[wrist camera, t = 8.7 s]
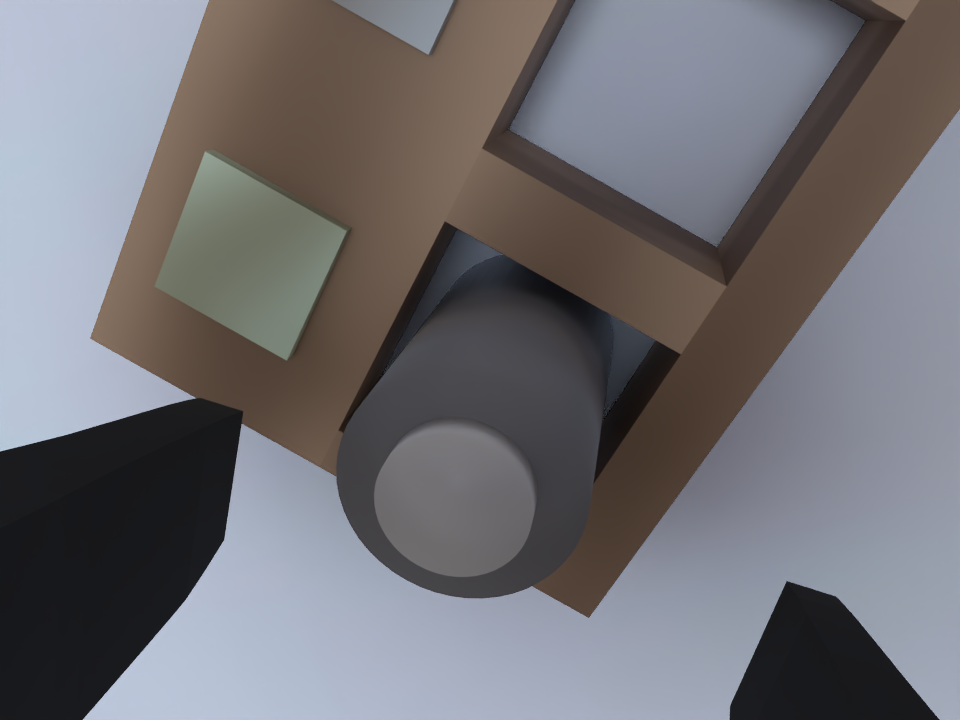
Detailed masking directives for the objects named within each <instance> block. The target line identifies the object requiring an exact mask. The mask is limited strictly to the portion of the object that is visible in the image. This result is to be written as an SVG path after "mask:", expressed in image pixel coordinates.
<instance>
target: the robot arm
mask: <svg viewBox="0 0 960 720" xmlns="http://www.w3.org/2000/svg"><path fill="white" fill-rule="evenodd" d="M242 417H243V411H241V410H238V409H235V408H231V407H228V406H225V405H222V404H219V403H216V402H212V401H209V400H206V399H203V398H197V399H191V400H186V401H182V402H178V403H174V404H171V405H167V406H164V407H160V408H156V409H153V410H150V411H146V412H143V413H140V414H136V415H133V416H130V417H126V418H123V419H119V420H116V421H113V422H109V423H106V424H102V425H99V426H96V427H92V428H89V429H85V430H82V431H78V432H75V433H72V434H68V435H64V436H61V437H57V438H53V439H49V440H45V441H41V442H37V443H33V444H29V445H25V446H21V447H17V448H13V449H9V450H5V451H1V452H0V720H83V719H84V717H85V716H86V715H87V714H88V713H89V712H90V711H91V709H92V708H93V707H94V706H95V705H96V704H97V702H98V701H99V700H100V699H101V698H102V697H103V696H104V694H105V693H106V692H107V691H108V690H109V689H110V687H111V686H112V685H113V684H114V683H115V682H116V681H117V679H118V678H119V677H120V676H121V675H122V674H123V672H124V671H125V670H126V669H127V668H128V667H129V666H130V664H131V663H132V662H133V661H134V660H135V659H136V657H137V656H138V655H139V654H140V653H141V652H142V651H143V649H144V648H145V647H146V646H147V645H148V644H149V642H150V641H151V640H152V639H153V638H154V637H155V635H156V634H157V633H158V632H159V631H160V630H161V628H162V627H163V626H164V625H165V624H166V622H167V621H168V620H169V619H170V618H171V617H172V615H173V614H174V613H175V612H176V611H177V609H178V608H179V607H180V606H181V605H182V603H183V602H184V601H185V600H186V598H187V597H188V595H189V594H190V592H191V591H192V589H193V588H194V586H195V585H196V583H197V582H198V580H199V579H200V577H201V576H202V574H203V573H204V571H205V570H206V568H207V566H208V565H209V563H210V562H211V560H212V558H213V557H214V555H215V554H216V552H217V550H218V549H219V547H220V546H221V544H222V542H223V541H224V537H225V530H226V523H227V517H228V510H229V503H230V497H231V490H232V484H233V477H234V470H235V464H236V457H237V450H238V444H239V437H240V430H241V424H242ZM730 720H939V719H938V717H937V716H936V715H935V714H934V713H933V712H932V710H931V709H930V708H929V707H928V706H927V704H926V703H925V702H924V701H923V700H922V698H921V697H920V696H919V695H918V694H917V692H916V691H915V690H914V689H913V688H912V686H911V685H910V684H909V683H908V681H907V680H906V679H905V678H904V677H903V675H902V674H901V673H900V672H899V670H898V669H897V668H896V667H895V666H894V664H893V663H892V662H891V661H890V659H889V658H888V657H887V656H886V654H885V653H884V652H883V651H882V649H881V648H880V647H879V646H878V645H877V643H876V642H875V641H874V640H873V638H872V637H871V636H870V635H869V634H868V632H867V631H866V630H865V629H864V627H863V626H862V625H861V624H860V623H859V621H858V620H857V619H856V618H855V617H854V616H853V614H852V613H851V612H850V611H849V610H848V609H847V608H846V607H845V605H844V604H843V603H842V602H841V601H840V600H839V599H838V598H837V597H836V596H832V595H829V594H826V593H823V592H820V591H816V590H813V589H810V588H807V587H804V586H800V585H797V584H794V583H791V582H788V581H787V582H786V584H785V586H784V589H783V591H782V593H781V595H780V597H779V600H778V602H777V604H776V606H775V608H774V611H773V613H772V615H771V617H770V619H769V622H768V624H767V626H766V628H765V630H764V633H763V635H762V637H761V639H760V641H759V644H758V646H757V648H756V650H755V652H754V655H753V657H752V659H751V661H750V663H749V666H748V668H747V670H746V672H745V674H744V677H743V679H742V681H741V683H740V685H739V688H738V690H737V692H736V694H735V696H734V699H733V701H732V703H731V705H730Z"/></svg>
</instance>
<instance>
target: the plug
mask: <svg viewBox="0 0 960 720" xmlns="http://www.w3.org/2000/svg"><path fill="white" fill-rule="evenodd" d="M612 348H613V333H612V326H611V321H610V318H609V315H608V313H607V312H605V311H603V310H601V309H600V308H598V307H596V306H594V305H593V304H591V303H589V302H587V301H585V300H584V299H582V298H580V297H578V296H577V295H575V294H573V293H571V292H569V291H568V290H566V289H564V288H562V287H561V286H559V285H557V284H555V283H554V282H552V281H550V280H548V279H546V278H545V277H543V276H541V275H539V274H538V273H536V272H534V271H532V270H530V269H529V268H527V267H525V266H523V265H522V264H520V263H518V262H516V261H514V260H513V259H511V258H509V257H507V256H506V255H500V256H496V257H493V258H490V259H487V260H485V261H483V262H481V263H479V264H477V265H476V266H474V267H473V268H471V269H470V270H468V271H467V272H466V273H465V274H463V275H462V276H461V277H460V278H459V279H458V280H457V282H456V283H455V284H454V285H453V286H452V288H451V289H450V290H449V291H448V293H447V294H446V295H445V297H444V298H443V299H442V300H441V302H440V303H439V304H438V306H437V307H436V308H435V309H434V311H433V312H432V313H431V315H430V316H429V317H428V319H427V320H426V321H425V322H424V324H423V325H422V326H421V328H420V329H419V330H418V331H417V333H416V334H415V335H414V337H413V338H412V339H411V340H410V342H409V343H408V344H407V346H406V347H405V348H404V349H403V351H402V352H401V353H400V355H399V356H398V357H397V359H396V360H395V361H394V362H393V364H392V365H391V366H390V368H389V369H388V370H387V371H386V373H385V374H384V375H383V377H382V378H381V379H380V380H379V382H378V383H377V384H376V386H375V387H374V388H373V390H372V391H371V392H370V393H369V395H368V396H367V397H366V399H365V400H364V401H363V402H362V404H361V405H360V406H359V408H358V409H357V410H356V411H355V413H354V414H353V416H352V418H351V419H350V421H349V423H348V424H347V426H346V429H345V431H344V433H343V436H342V438H341V442H340V446H339V450H338V455H337V465H336V474H337V486H338V491H339V497H340V500H341V503H342V506H343V509H344V512H345V514H346V516H347V518H348V521H349V523H350V525H351V526H352V528H353V530H354V531H355V533H356V534H357V536H358V538H359V539H360V540H361V541H362V543H363V544H364V545H365V546H366V548H367V549H368V550H369V551H370V552H371V553H372V554H373V555H374V556H375V557H376V558H377V559H378V560H379V561H380V562H381V563H383V564H384V565H385V566H386V567H388V568H389V569H390V570H391V571H393V572H394V573H396V574H398V575H399V576H401V577H402V578H404V579H406V580H407V581H410V582H412V583H414V584H416V585H418V586H420V587H422V588H425V589H428V590H431V591H433V592H437V593H441V594H445V595H449V596H455V597H463V598H490V597H499V596H504V595H508V594H513V593H516V592H518V591H521V590H524V589H527V588H529V587H531V586H533V585H535V584H537V583H539V582H541V581H542V580H544V579H545V578H547V577H548V576H549V575H551V574H552V573H554V572H555V571H556V570H557V569H558V568H559V567H560V566H561V565H562V564H563V563H564V562H565V561H566V560H567V558H568V557H569V556H570V555H571V553H572V552H573V551H574V549H575V547H576V546H577V544H578V542H579V541H580V539H581V536H582V534H583V531H584V529H585V526H586V523H587V519H588V514H589V509H590V503H591V496H592V489H593V482H594V475H595V468H596V461H597V454H598V447H599V440H600V433H601V426H602V419H603V412H604V406H605V399H606V392H607V385H608V378H609V371H610V364H611V357H612Z"/></svg>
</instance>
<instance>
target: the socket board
mask: <svg viewBox="0 0 960 720" xmlns="http://www.w3.org/2000/svg"><path fill="white" fill-rule="evenodd" d="M831 1H833V2H835V3H836V4H838V5H840V6H842V7H843V8H845V9H847V10H849V11H850V12H852V13H854V14H856V15H857V16H859V17H861V18H863V19H864V20H866V22H865V23H864V25H863V26H862V28H861V29H860V31H859V32H858V34H857V35H856V37H855V38H854V40H853V41H852V43H851V45H850V46H849V48H848V49H847V51H846V52H845V54H844V55H843V57H842V58H841V60H840V61H839V63H838V64H837V66H836V67H835V69H834V70H833V72H832V73H831V75H830V77H829V78H828V80H827V81H826V83H825V84H824V86H823V87H822V89H821V90H820V92H819V93H818V95H817V96H816V98H815V99H814V101H813V102H812V104H811V106H810V107H809V109H808V110H807V112H806V113H805V115H804V116H803V118H802V119H801V121H800V122H799V124H798V125H797V127H796V128H795V130H794V131H793V133H792V134H791V136H790V138H789V139H788V141H787V142H786V144H785V145H784V147H783V148H782V150H781V151H780V153H779V154H778V156H777V157H776V159H775V160H774V162H773V163H772V165H771V166H770V168H769V170H768V171H767V173H766V174H765V176H764V177H763V179H762V180H761V182H760V183H759V185H758V186H757V188H756V189H755V191H754V192H753V194H752V195H751V197H750V198H749V200H748V202H747V203H746V205H745V206H744V208H743V209H742V211H741V212H740V214H739V215H738V217H737V218H736V220H735V221H734V223H733V224H732V226H731V227H730V229H729V230H728V232H727V234H726V235H725V237H724V238H723V240H722V241H721V243H720V244H719V246H718V247H715V246H713V245H711V244H710V243H708V242H706V241H704V240H703V239H701V238H699V237H697V236H696V235H694V234H692V233H690V232H688V231H687V230H685V229H683V228H681V227H680V226H678V225H676V224H674V223H673V222H671V221H669V220H667V219H665V218H664V217H662V216H660V215H658V214H657V213H655V212H653V211H651V210H650V209H648V208H646V207H644V206H642V205H641V204H639V203H637V202H635V201H634V200H632V199H630V198H628V197H627V196H625V195H623V194H621V193H619V192H618V191H616V190H614V189H612V188H611V187H609V186H607V185H605V184H604V183H602V182H600V181H598V180H596V179H595V178H593V177H591V176H589V175H588V174H586V173H584V172H582V171H581V170H579V169H577V168H575V167H573V166H572V165H570V164H568V163H566V162H565V161H563V160H561V159H559V158H558V157H556V156H554V155H552V154H550V153H549V152H547V151H545V150H543V149H542V148H540V147H538V146H536V145H535V144H533V143H531V142H529V141H527V140H526V139H524V138H522V137H520V136H519V135H517V134H515V133H513V132H512V131H510V130H508V129H509V127H510V125H511V123H512V121H513V120H514V118H515V116H516V114H517V112H518V110H519V108H520V106H521V104H522V102H523V100H524V98H525V96H526V94H527V92H528V91H529V89H530V87H531V85H532V83H533V81H534V79H535V77H536V75H537V73H538V71H539V69H540V67H541V65H542V64H543V62H544V60H545V58H546V56H547V54H548V52H549V50H550V48H551V46H552V44H553V42H554V40H555V38H556V36H557V35H558V33H559V31H560V29H561V27H562V25H563V23H564V21H565V19H566V17H567V15H568V13H569V11H570V9H571V8H572V6H573V4H574V2H575V0H209V2H208V5H207V8H206V11H205V14H204V17H203V19H202V22H201V25H200V28H199V31H198V34H197V36H196V39H195V42H194V45H193V48H192V51H191V53H190V56H189V59H188V62H187V65H186V68H185V71H184V73H183V76H182V79H181V82H180V85H179V88H178V90H177V93H176V96H175V99H174V102H173V105H172V108H171V110H170V113H169V116H168V119H167V122H166V125H165V127H164V130H163V133H162V136H161V139H160V142H159V144H158V147H157V150H156V153H155V156H154V159H153V162H152V164H151V167H150V170H149V173H148V176H147V179H146V181H145V184H144V187H143V190H142V193H141V196H140V198H139V201H138V204H137V207H136V210H135V213H134V216H133V218H132V221H131V224H130V227H129V230H128V233H127V235H126V238H125V241H124V244H123V247H122V250H121V252H120V255H119V258H118V261H117V264H116V267H115V270H114V272H113V275H112V278H111V281H110V284H109V287H108V289H107V292H106V295H105V298H104V301H103V304H102V306H101V309H100V312H99V315H98V318H97V321H96V324H95V326H94V329H93V332H92V335H91V338H90V339H92V340H94V341H96V342H97V343H99V344H101V345H103V346H105V347H106V348H108V349H110V350H112V351H113V352H115V353H117V354H119V355H121V356H122V357H124V358H126V359H128V360H130V361H131V362H133V363H135V364H137V365H138V366H140V367H142V368H144V369H146V370H147V371H149V372H151V373H153V374H155V375H156V376H158V377H160V378H162V379H163V380H165V381H167V382H169V383H171V384H172V385H174V386H176V387H178V388H179V389H181V390H183V391H185V392H187V393H188V394H190V395H192V396H194V397H196V398H203V399H206V400H209V401H212V402H216V403H219V404H222V405H225V406H228V407H231V408H235V409H238V410H241V411H243V417H242V424H244V425H246V426H247V427H249V428H251V429H253V430H254V431H256V432H258V433H260V434H262V435H263V436H265V437H267V438H269V439H271V440H272V441H274V442H276V443H278V444H279V445H281V446H283V447H285V448H287V449H288V450H290V451H292V452H294V453H295V454H297V455H299V456H301V457H303V458H304V459H306V460H308V461H310V462H312V463H313V464H315V465H317V466H319V467H320V468H322V469H324V470H326V471H328V472H329V473H331V474H333V475H335V476H337V474H336V465H337V455H338V450H339V446H340V442H341V438H342V436H343V433H344V431H345V429H346V426H347V424H348V423H349V421H350V419H351V418H352V416H353V414H354V413H355V411H356V410H357V409H358V408H359V406H360V405H361V404H362V402H363V401H364V400H365V399H366V397H367V396H368V395H369V393H370V392H371V391H372V390H373V388H374V387H375V386H376V384H377V383H378V382H379V380H380V379H381V378H380V376H381V374H382V372H383V370H384V369H385V367H386V365H387V363H388V361H389V359H390V357H391V355H392V353H393V351H394V349H395V347H396V345H397V343H398V342H399V340H400V338H401V336H402V334H403V332H404V330H405V328H406V326H407V324H408V322H409V320H410V318H411V316H412V315H413V313H414V311H415V309H416V307H417V305H418V303H419V301H420V299H421V297H422V295H423V293H424V291H425V289H426V287H427V286H428V284H429V282H430V280H431V278H432V276H433V274H434V272H435V270H436V268H437V266H438V264H439V262H440V260H441V259H442V257H443V255H444V253H445V251H446V249H447V247H448V245H449V243H450V241H451V239H452V237H453V235H454V233H455V231H456V230H457V228H458V229H459V230H461V231H463V232H465V233H467V234H468V235H470V236H472V237H474V238H475V239H477V240H479V241H481V242H483V243H484V244H486V245H488V246H490V247H491V248H493V249H495V250H497V251H499V252H500V253H502V254H504V255H506V256H507V257H509V258H511V259H513V260H514V261H516V262H518V263H520V264H522V265H523V266H525V267H527V268H529V269H530V270H532V271H534V272H536V273H538V274H539V275H541V276H543V277H545V278H546V279H548V280H550V281H552V282H554V283H555V284H557V285H559V286H561V287H562V288H564V289H566V290H568V291H569V292H571V293H573V294H575V295H577V296H578V297H580V298H582V299H584V300H585V301H587V302H589V303H591V304H593V305H594V306H596V307H598V308H600V309H601V310H603V311H605V312H607V313H608V314H610V315H612V316H614V317H616V318H617V319H619V320H621V321H623V322H624V323H626V324H628V325H630V326H632V327H633V328H635V329H637V330H639V331H640V332H642V333H644V334H646V335H648V336H649V337H651V338H653V339H655V340H656V342H655V343H654V345H653V346H652V348H651V349H650V351H649V352H648V354H647V355H646V357H645V359H644V360H643V362H642V363H641V365H640V366H639V368H638V369H637V371H636V372H635V374H634V375H633V377H632V378H631V380H630V381H629V383H628V384H627V386H626V387H625V389H624V391H623V392H622V394H621V395H620V397H619V398H618V400H617V401H616V403H615V404H614V406H613V407H612V409H611V410H610V412H609V413H608V415H607V416H606V418H605V419H604V421H603V423H602V426H601V433H600V440H599V447H598V454H597V461H596V468H595V475H594V482H593V489H592V496H591V503H590V509H589V514H588V519H587V523H586V526H585V529H584V531H583V534H582V536H581V539H580V541H579V542H578V544H577V546H576V547H575V549H574V551H573V552H572V553H571V555H570V556H569V557H568V558H567V560H566V561H565V562H564V563H563V564H562V565H561V566H560V567H559V568H558V569H557V570H556V571H555V572H554V573H552V574H551V575H549V576H548V577H547V578H545V579H544V580H542V581H541V582H539V583H537V584H535V585H533V587H535V588H536V589H538V590H540V591H542V592H544V593H545V594H547V595H549V596H551V597H552V598H554V599H556V600H558V601H560V602H561V603H563V604H565V605H567V606H569V607H570V608H572V609H574V610H576V611H577V612H579V613H581V614H583V615H585V616H586V617H588V618H589V617H590V616H591V614H592V613H593V611H594V610H595V609H596V607H597V606H598V605H599V603H600V602H601V600H602V599H603V598H604V596H605V595H606V594H607V592H608V591H609V589H610V588H611V587H612V585H613V584H614V583H615V581H616V580H617V578H618V577H619V576H620V574H621V573H622V572H623V570H624V569H625V567H626V566H627V565H628V563H629V562H630V561H631V559H632V558H633V556H634V555H635V554H636V552H637V551H638V550H639V548H640V547H641V546H642V544H643V543H644V541H645V540H646V539H647V537H648V536H649V535H650V533H651V532H652V530H653V529H654V528H655V526H656V525H657V524H658V522H659V521H660V519H661V518H662V517H663V515H664V514H665V513H666V511H667V510H668V508H669V507H670V506H671V504H672V503H673V502H674V500H675V499H676V497H677V496H678V495H679V493H680V492H681V491H682V489H683V488H684V486H685V485H686V484H687V482H688V481H689V480H690V478H691V477H692V475H693V474H694V473H695V471H696V470H697V469H698V467H699V466H700V464H701V463H702V462H703V460H704V459H705V458H706V456H707V455H708V454H709V452H710V451H711V449H712V448H713V447H714V445H715V444H716V443H717V441H718V440H719V438H720V437H721V436H722V434H723V433H724V432H725V430H726V429H727V427H728V426H729V425H730V423H731V422H732V421H733V419H734V418H735V416H736V415H737V414H738V412H739V411H740V410H741V408H742V407H743V405H744V404H745V403H746V401H747V400H748V399H749V397H750V396H751V394H752V393H753V392H754V390H755V389H756V388H757V386H758V385H759V383H760V382H761V381H762V379H763V378H764V377H765V375H766V374H767V372H768V371H769V370H770V368H771V367H772V366H773V364H774V363H775V362H776V360H777V359H778V357H779V356H780V355H781V353H782V352H783V351H784V349H785V348H786V346H787V345H788V344H789V342H790V341H791V340H792V338H793V337H794V335H795V334H796V333H797V331H798V330H799V329H800V327H801V326H802V324H803V323H804V322H805V320H806V319H807V318H808V316H809V315H810V313H811V312H812V311H813V309H814V308H815V307H816V305H817V304H818V302H819V301H820V300H821V298H822V297H823V296H824V294H825V293H826V291H827V290H828V289H829V287H830V286H831V285H832V283H833V282H834V281H835V279H836V278H837V276H838V275H839V274H840V272H841V271H842V270H843V268H844V267H845V265H846V264H847V263H848V261H849V260H850V259H851V257H852V256H853V254H854V253H855V252H856V250H857V249H858V248H859V246H860V245H861V243H862V242H863V241H864V239H865V238H866V237H867V235H868V234H869V232H870V231H871V230H872V228H873V227H874V226H875V224H876V223H877V221H878V220H879V219H880V217H881V216H882V215H883V213H884V212H885V210H886V209H887V208H888V206H889V205H890V204H891V202H892V201H893V199H894V198H895V197H896V195H897V194H898V193H899V191H900V190H901V189H902V187H903V186H904V184H905V183H906V182H907V180H908V179H909V178H910V176H911V175H912V173H913V172H914V171H915V169H916V168H917V167H918V165H919V164H920V162H921V161H922V160H923V158H924V157H925V156H926V154H927V153H928V151H929V150H930V149H931V147H932V146H933V145H934V143H935V142H936V140H937V139H938V138H939V136H940V135H941V134H942V132H943V131H944V129H945V128H946V127H947V125H948V124H949V123H950V121H951V120H952V118H953V117H954V116H955V114H956V113H957V112H958V110H959V109H960V0H831Z"/></svg>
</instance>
